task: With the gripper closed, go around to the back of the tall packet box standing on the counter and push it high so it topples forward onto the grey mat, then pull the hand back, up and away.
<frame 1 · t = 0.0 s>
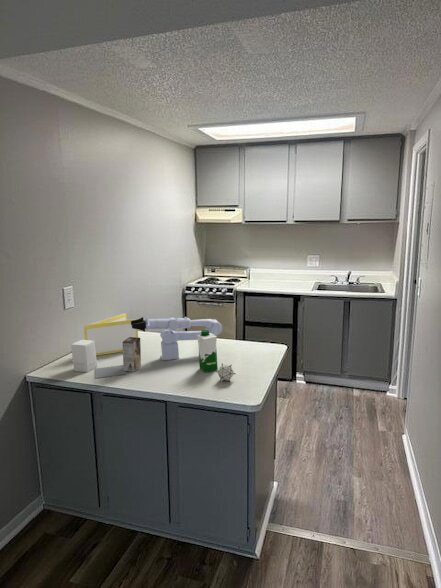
hand: (131, 324, 228), 22 cm above the countertop, tool horizontal, fingers open, 7 cm apart
mat: (110, 371, 219), on the countertop
spiky ball ornament: (226, 380, 201), on the countertop
coffee box: (132, 368, 222), on the countertop, touching mat
milk carton: (208, 369, 217), on the countertop
yellow rectangular frame: (117, 350, 254), on the countertop
supplement box: (85, 369, 225), on the countertop
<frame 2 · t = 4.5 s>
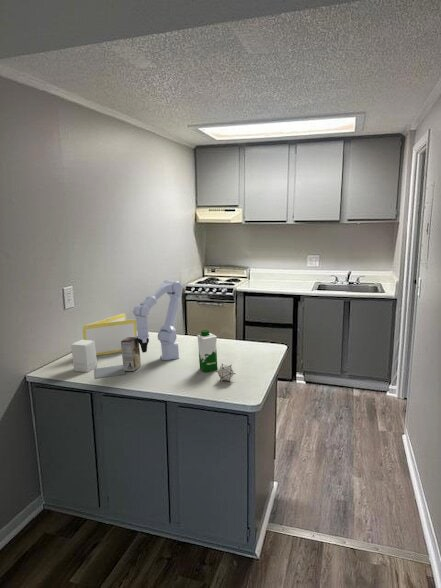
hand: (144, 352, 222), 8 cm above the countertop, tool pointing down, fingers closed
coffee box: (132, 368, 222), on the countertop, touching gripper, mat
everything else where it was.
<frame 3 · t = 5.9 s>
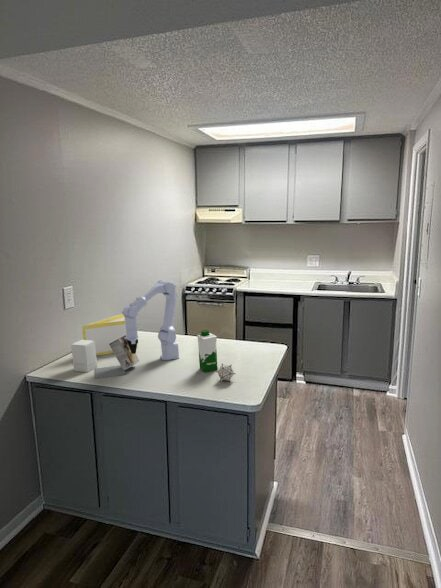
hand: (133, 353, 221), 8 cm above the countertop, tool pointing down, fingers closed
coffee box: (131, 366, 222), point 1 cm above the countertop, touching mat
everything else where it was.
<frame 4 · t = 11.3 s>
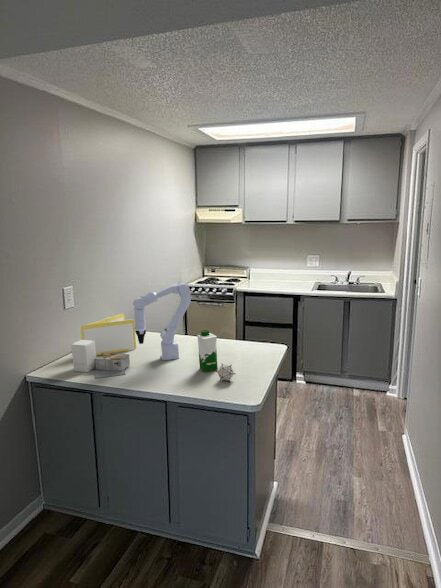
hand: (141, 343, 231), 10 cm above the countertop, tool pointing down, fingers closed
coffee box: (126, 362, 221), point 4 cm above the countertop, touching mat
at the end: coffee box tilted 90°; coffee box touching mat; coffee box inside the target area (1.9 cm from its centre), point 3.6 cm above the countertop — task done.
